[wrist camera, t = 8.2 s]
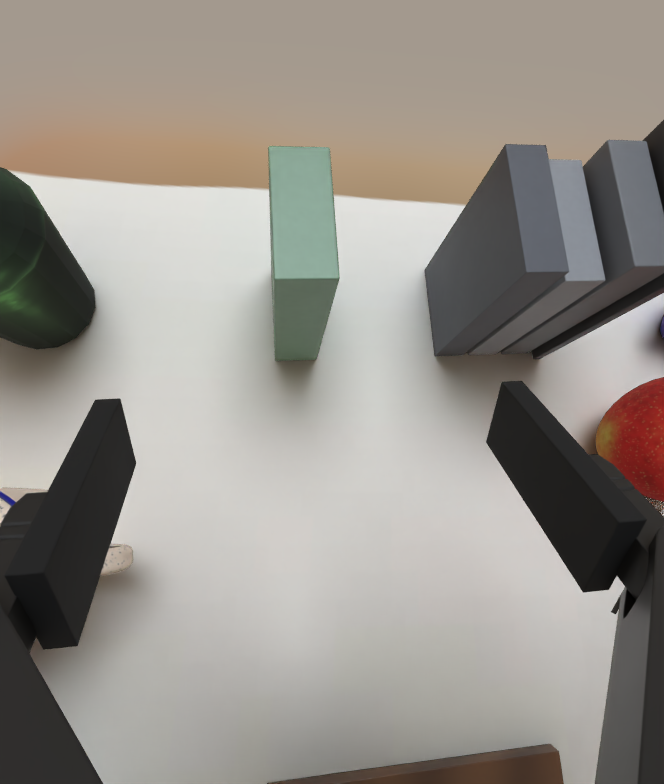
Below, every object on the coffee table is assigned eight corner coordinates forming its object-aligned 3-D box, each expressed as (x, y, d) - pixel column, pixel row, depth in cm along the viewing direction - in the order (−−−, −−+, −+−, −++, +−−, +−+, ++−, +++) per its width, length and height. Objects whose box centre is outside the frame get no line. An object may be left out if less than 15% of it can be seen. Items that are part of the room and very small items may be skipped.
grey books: (524, 263, 38) (676, 117, 24) (540, 359, 36) (715, 265, 22) (423, 263, 37) (518, 111, 23) (435, 362, 35) (545, 266, 21)
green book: (311, 270, 36) (329, 146, 23) (316, 359, 34) (339, 278, 22) (271, 270, 35) (268, 144, 23) (275, 361, 34) (273, 279, 21)
